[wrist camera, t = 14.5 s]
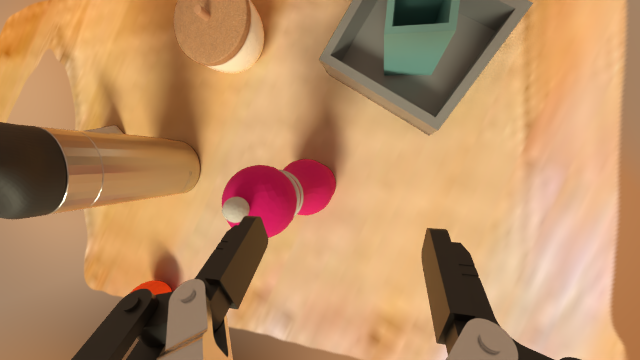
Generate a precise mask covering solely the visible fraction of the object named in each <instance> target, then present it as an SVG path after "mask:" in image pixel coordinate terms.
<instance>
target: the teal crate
mask: <svg viewBox="0 0 640 360" xmlns="http://www.w3.org/2000/svg"><path fill="white" fill-rule="evenodd" d="M459 3H460V0H388V1H387V11H386V20H385V30H384V76H390V75H432V73H433V71H434V69H435V67H436V66H437V64H438V62H439V60H440V58H441V57H442V55H443V53H444V51H445V49H446V47H447V46H448V44H449V42H450V40H451V38H452V36H453V35H454V33H455V31H456V26H457V19H458V11H459Z"/></svg>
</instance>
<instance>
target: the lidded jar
mask: <svg viewBox="0 0 640 360" xmlns="http://www.w3.org/2000/svg"><path fill="white" fill-rule="evenodd" d="M174 31H175V35H176V38H177V41H178V44H179V45H180V47H181V49H182V50H183V52H184V53H185V54H186V55H187V56H188V57H189V58H190V59H192V60H194V61H195V62H197V63H200V64H202V65H205V66H207V67H209V68H211V69H214V70H217V71H220V72H225V73H239V72H242V71H245V70H247V69H249V68H250V67H251V66H253V65H254V64H255V63H256V61H257V60H258V59H259V57H260V55H261V53H262V50H263V45H264V29H263V25H262V21H261V18H260V16H259V14H258V11H257V10H256V8H255V6H254V5H253V3H252V1H251V0H178V1H177V4H176V8H175V13H174Z"/></svg>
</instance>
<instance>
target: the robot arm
mask: <svg viewBox="0 0 640 360" xmlns="http://www.w3.org/2000/svg"><path fill="white" fill-rule="evenodd" d="M199 174H200V164H199V159H198V157H197V154H196V153H195V151H194V150H193V148H192V147H191V146H189V145H188V144H187V143H184V142H182V141H174V140H169V139H165V138H156V137H146V136H137V135H127V134H118V133H106V134H105V133H95V132H85V131H74V130H64V129H54V128H44V127H35V126H25V125H15V124H9V123H3V122H0V218H4V219H22V218H30V217H36V216H42V215H47V214H54V213H61V212H66V211H73V210H79V209H85V208H92V207H98V206H105V205H111V204H117V203H124V202H130V201H137V200H143V199H150V198H156V197H163V196H169V195H175V194H182V193H186V192H188V191H190V190H191V189H192V188H193V187H194V186H195V185H196V183H197V181H198V178H199ZM267 245H268V235H267V233H266V230H265V227H264V224H263V221H262V218H261V217H260V216H244V217H243V219H242V220H241V222H240V223H239V225H235V226H233V227H232V228H231V229H230V230H229V231H227V232H226V234H225V235H224V237H223V238H222V240H221V242H220V243H219V244H218V246H217V247H216V250H214V251H213V253H212V254H211V256H210V257H209V259H208V260H207V262H206V263H205V265H204V266H203V268H202V269H201V270H200V272H199V273H198V275H197V276H196V278H195V279H192V280H189V281H186V282H184V283H183V284H181V285H180V286H179V287H178V288H177V289H176V290H175V291H172V292H167V293H162V294H157V295H154V294H153V293H152V292H151V291H150V290H148V289H138V290H136V291H133V292H131V293H130V294H128V295H127V296H125V297H124V298H123V299H122V300H121V301H120V302H119V303H118V304H117V305H116V307H115V308H114V309H113V310H112V311H111V313H110V314H109V315H108V316H107V317H106V319H105V320H104V321H103V322H102V324H101V325H100V326H99V327H98V328H97V329H96V331H95V332H94V333H93V334H92V336H91V337H90V338H89V339H88V340H87V341H86V343H85V344H84V345H83V346H82V348H81V349H80V350H79V351H78V352H77V354H76V355H75V356H74V357H73V358H72V360H122V358H123V357H124V355H125V354H126V352H127V351H128V350H129V348H130V347H131V345H132V344H133V342H134V341H135V339H136V338H137V339H138V340H139V341H138V343H137V344H136V346H135V347H134V349H133V350H132V352H131V353H130V355H129V356H128V358H127V359H126V360H233V358H232V351H231V344H230V336H229V329H228V322H227V316H226V313H227V311H228V309H229V308H233V309H238V308H239V306H240V304H241V302H242V300H243V297H244V295H245V293H246V291H247V289H248V287H249V285H250V282H251V280H252V278H253V276H254V274H255V272H256V270H257V267H258V265H259V263H260V261H261V259H262V257H263V254H264V252H265V250H266V248H267ZM422 265H423V271H424V276H425V282H426V287H427V293H428V298H429V304H430V309H431V314H432V320H433V325H434V331H435V336H436V342H437V343H439V344H445V345H446V348H447V353H448V357H447V358H446V360H554V359H552V358H549V357H547V356H545V355H543V354H540V353H538V352H536V351H533V350H531V349H529V348H527V347H525V346H523V345H521V344H519V343H518V342H516V341H515V340H514V339H512V338H511V337H510V336H509V335H508V334H507V332H506V331H505V330H503V329H502V328H501V327H500V325H499V324H498V322H497V321H496V319H495V316H494V314H493V311H492V309H491V306H490V304H489V301H488V298H487V296H486V293H485V291H484V288H483V286H482V283H481V281H480V278H479V277H478V276H479V275H478V273H477V270H476V268H475V265H474V263H473V260H472V257H471V255H470V253H469V252H468V251H467V250H466V249H465V247H464V246H463V245H462V244H461V243H456V242H451V240H450V237H449V234H448V231H447V230H446V229H433V228H427V230H426V234H425V239H424V243H423V248H422ZM560 360H580V359H577V358H572V357H565V358H562V359H560Z"/></svg>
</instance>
